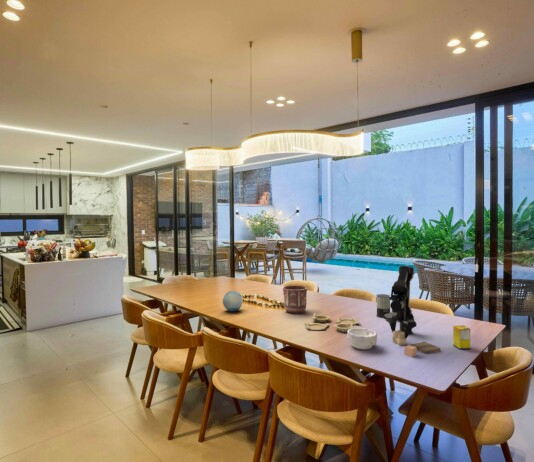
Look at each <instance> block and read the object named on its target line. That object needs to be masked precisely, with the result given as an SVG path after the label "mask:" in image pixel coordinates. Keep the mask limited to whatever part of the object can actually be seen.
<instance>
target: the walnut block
mask: <svg viewBox="0 0 534 462" xmlns="http://www.w3.org/2000/svg"><path fill="white" fill-rule="evenodd" d="M410 346H414V347H417V351H418V352H421V353H422V354H425V355H427V354H431V353H437V352H441V347H440V346H439V347H438V346H436V345H434V344H432V343H429V342H426V341H421V342H416V343H412V344H411V343H410Z"/></svg>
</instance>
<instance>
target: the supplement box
mask: <svg viewBox="0 0 534 462" xmlns="http://www.w3.org/2000/svg"><path fill="white" fill-rule="evenodd" d="M452 326H453V327H452V328H453V331H452V332H453V333H452V334H453V335H452V337H453V338H452V340H453V342H452V343H453V344H452V346H453V347H455V348H457V349H458V350H471V328H470V327H468V326H466V325H462V324H461V325H452Z"/></svg>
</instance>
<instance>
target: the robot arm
mask: <svg viewBox="0 0 534 462" xmlns="http://www.w3.org/2000/svg"><path fill="white" fill-rule="evenodd" d="M415 271H416V270H415V268H414V267H413V266H408V265H400V266H399V267H398V278H397V280H396V281H394V283H393V285H392V286H391V293H390V297H391V298H394V300H393V301H392V300H391V301H392V302H390V310H391V311H390V313H388V314H385V315H384V318H383V319H384V320H385V321H386V322H387V323H388V324H389V326H390V329H391V333H392V334H393V331H396V327H397V323H399V330H400V331H403V332H404V336H405V338H406V339H407V338H408V337H409V335H412V334H414V331H413V329H414V328H416V327H417V322H416V321H415V317H414V314H413V311H412V308H411V307H410V302H411V301H410V300H411V281H412V280H413V279H414V275H415V274H416V273H415ZM399 330H397V331H399Z"/></svg>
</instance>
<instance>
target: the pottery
mask: <svg viewBox="0 0 534 462" xmlns="http://www.w3.org/2000/svg"><path fill="white" fill-rule="evenodd" d="M282 292H283V293H282V294H283V307H284V309H285V310H286V313H289V314H293V315H295V314H302V313H304V312H305V311H306V309H307V292H308V288H307V286H304V285H295V284H294V285H285V286H283V287H282Z"/></svg>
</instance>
